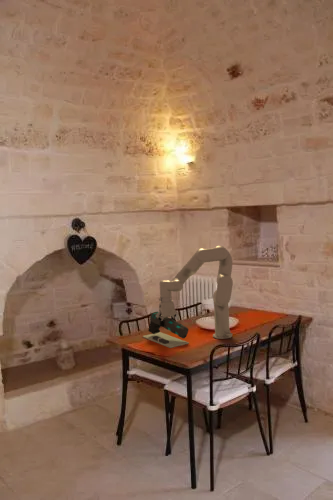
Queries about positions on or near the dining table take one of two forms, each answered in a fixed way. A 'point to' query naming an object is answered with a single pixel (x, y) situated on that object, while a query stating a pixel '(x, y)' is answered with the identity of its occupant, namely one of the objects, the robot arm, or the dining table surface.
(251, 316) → the dining table surface
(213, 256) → the robot arm
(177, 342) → the mat
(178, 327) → the gun
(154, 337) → the bound lead
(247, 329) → the dining table surface
